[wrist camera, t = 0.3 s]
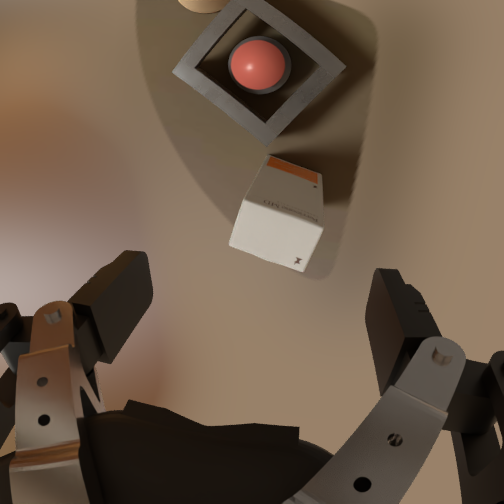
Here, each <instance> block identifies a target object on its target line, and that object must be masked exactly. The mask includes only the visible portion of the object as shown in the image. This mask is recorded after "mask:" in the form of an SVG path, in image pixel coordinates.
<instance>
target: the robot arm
mask: <svg viewBox="0 0 504 504" xmlns="http://www.w3.org/2000/svg"><path fill="white" fill-rule="evenodd" d="M152 298H153V286H152V281H151V275H150V269H149V263H148V257H147V254H146V253H145V252H141V251H130V250H126V251H124V252H123V253H121V254H120V255H119V256H118V257H117V258H116V259H115V260H114V261H113V262H112V263H110V264H108V265H106V266H104V267H102V268H101V269H100V270H99V271H98V272H97V273H96V274H94V276H93V277H91V278H90V279H89V280H88V281H87V283H86V284H84V285H83V286H82V287H81V288H80V289H79V290H78V291H77V292H76V293H75V294H74V295H73V296H72V297H71V298H70V299H69V300H68V301H67V302H66V301H54V302H50V303H48V304H46V305H44V306H42V307H41V308H39V309H38V310H37V311H36V313H35V314H34V316H21V315H20V312H19V310H18V307H17V306H16V304H14V303H3V304H0V352H1V353H2V355H3V357H4V359H5V360H6V362H7V364H8V365H9V368H8V369H7V370H6V371H5V373H4V374H3V375H2V377H1V378H0V449H1V447H2V445H3V443H4V442H5V440H6V438H7V437H8V435H9V433H10V431H11V430H12V428H13V426H14V425H15V439H16V451H14V452H11V453H9V454H7V455H4V456H2V457H0V504H399V502H400V501H401V499H402V498H403V496H404V495H405V493H406V492H407V490H408V489H409V487H410V485H411V484H412V482H413V480H414V479H415V477H416V476H417V474H418V472H419V471H420V469H421V467H422V465H423V464H424V462H425V460H426V458H427V457H428V455H429V453H430V451H431V449H432V447H433V445H434V443H435V441H436V439H437V438H438V435H439V433H440V431H441V429H442V430H448V431H451V435H452V440H453V445H454V451H455V456H456V461H457V467H458V474H459V481H460V489H461V497H462V504H504V351H498V352H496V353H494V354H493V355H492V357H491V359H490V361H489V363H488V364H486V363H481V362H476V361H472V360H468V359H466V356H465V353H464V351H463V350H462V348H461V347H460V346H459V345H458V344H457V343H455V342H454V341H452V340H450V339H447V338H444V337H442V335H441V333H440V331H439V329H438V327H437V325H436V323H435V321H434V319H433V317H432V315H431V313H429V309H428V307H427V305H426V304H425V301H424V299H423V297H422V295H421V293H420V292H419V291H417V290H416V289H415V288H414V287H413V286H412V285H411V284H405V283H404V281H403V279H402V277H401V275H400V273H399V271H398V270H397V269H382V268H376V270H375V272H374V275H373V280H372V284H371V289H370V293H369V298H368V302H367V306H366V313H365V322H366V327H367V332H368V336H369V341H370V346H371V350H372V355H373V360H374V365H375V369H376V375H377V380H378V385H379V391H380V396H382V397H381V399H380V400H379V402H378V403H377V404H376V405H375V407H374V408H373V409H372V411H371V412H370V413H369V415H368V416H367V417H366V418H365V420H364V421H363V422H362V423H361V425H360V426H359V427H358V428H357V429H356V431H355V432H354V433H353V434H352V435H351V437H350V438H349V439H348V440H347V441H346V442H345V444H344V445H343V446H342V447H341V448H340V449H339V451H337V453H336V454H335V455H333V454H331V453H330V452H328V451H327V450H325V449H323V448H321V447H319V446H317V445H315V444H312V443H310V442H307V441H303V440H300V439H299V427H293V426H279V425H267V424H257V423H251V424H239V425H224V426H204V425H202V424H199V423H197V422H194V421H192V420H190V419H188V418H185V417H183V416H181V415H179V414H177V413H174V412H172V411H170V410H168V409H166V408H161V407H157V406H153V405H149V404H145V403H141V402H137V401H133V400H128V402H127V404H126V406H125V408H124V410H116V411H115V410H114V411H106V410H105V407H104V402H103V398H102V393H101V388H100V383H99V378H98V373H97V370H96V367H95V364H96V363H97V361H100V362H104V363H108V364H111V363H112V362H113V360H114V359H115V357H116V356H117V354H118V353H119V351H120V349H121V348H122V346H123V345H124V343H125V342H126V340H127V339H128V337H129V336H130V334H131V333H132V331H133V330H134V328H135V327H136V325H137V324H138V322H139V321H140V319H141V318H142V316H143V315H144V313H145V312H146V311H147V309H148V308H149V306H150V304H151V302H152ZM496 421H497V422H498V425H499V428H500V431H501V435H502V439H503V444H502V449H500V445H499V442H498V438H497V435H496V431H495V428H494V424H495V423H496Z"/></svg>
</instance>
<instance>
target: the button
mask: <svg viewBox="0 0 504 504" xmlns="http://www.w3.org/2000/svg"><path fill="white" fill-rule="evenodd" d="M228 69H229V73H230V76H231V78H232V80H233V81H234V82H235V84H236V85H237V86H238V87H240V88H241V89H243V90H245V91H247V92H249V93H253V94H266V93H270V92H273V91H275V90H277V89H278V88H280V87H281V86H282V85H283V84H284V83H285V82H286V81H287V79H288V77H289V75H290V72H291V59H290V56H289V54H288V52H287V50H286V49H285V48H284V46H283V45H282V44H280V43H279V42H278V41H276V40H274V39H272V38H269V37H265V36H255V37H250V38H247V39H245V40H243V41H241V42H240V43H239V44H237V45H236V46H235V48H234V49H233V50H232V52H231V54H230V57H229V61H228Z"/></svg>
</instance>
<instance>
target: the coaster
mask: <svg viewBox="0 0 504 504" xmlns="http://www.w3.org/2000/svg"><path fill="white" fill-rule="evenodd" d="M179 2H180V3H181V4H182V5H183V6H184V7H186V8H187V9H189V10H191V11H194V12H197V13H204V14H209V13H216V12H220V11H221V10H222V9H223V8H224V7H225V6H226V5H227V4H228V3H229V2H230V0H179Z"/></svg>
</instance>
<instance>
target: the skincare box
mask: <svg viewBox="0 0 504 504" xmlns="http://www.w3.org/2000/svg"><path fill="white" fill-rule="evenodd" d="M323 231H324V205H323V185H322V175H321V174H320V173H317V172H314V171H311V170H309V169H306V168H303V167H300V166H298V165H295V164H292V163H290V162H287V161H284V160H282V159H279V158H276V157H274V156H271V155H267V157H266V158H265V160H264V162H263V164H262V166H261V168H260V170H259V171H258V173H257V175H256V177H255V179H254V180H253V182H252V184H251V186H250V188H249V190H248V191H247V193H246V195H245V197H244V199H243V202H242V205H241V207H240V210H239V213H238V216H237V219H236V222H235V225H234V228H233V231H232V235H231V237H230V241H229V245H230V246H231V247H234V248H236V249H239V250H242V251H245V252H247V253H250V254H253V255H255V256H257V257H259V258H261V259H264V260H267V261H269V262H274V263H278V264H280V265H283V266H286V267H289V268H292V269H295V270H298V271H300V272H304V271H305V269H306V267H307V265H308V263H309V261H310V259H311V256H312V254H313V252H314V250H315V248H316V246H317V244H318V241H319V239H320V237H321V235H322V233H323Z"/></svg>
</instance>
